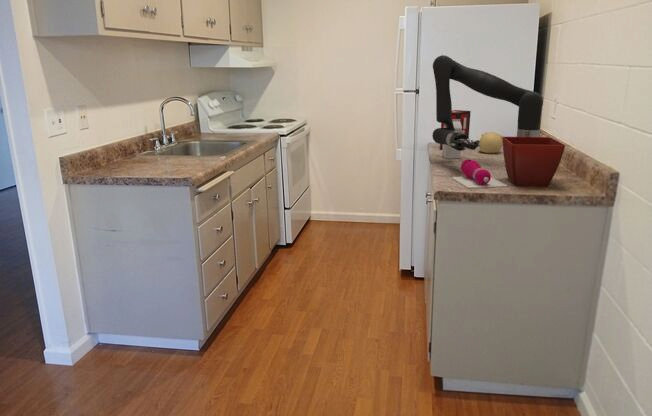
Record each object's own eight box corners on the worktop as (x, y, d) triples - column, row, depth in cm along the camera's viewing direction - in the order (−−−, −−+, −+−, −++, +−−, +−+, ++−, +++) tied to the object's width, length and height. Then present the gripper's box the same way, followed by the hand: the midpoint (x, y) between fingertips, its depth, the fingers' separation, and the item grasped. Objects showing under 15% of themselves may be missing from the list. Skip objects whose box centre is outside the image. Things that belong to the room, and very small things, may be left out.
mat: (450, 178, 209) (450, 177, 209) (487, 176, 211) (487, 175, 211) (468, 188, 192) (468, 187, 192) (507, 186, 194) (508, 185, 194)
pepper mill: (468, 178, 212) (488, 192, 193) (455, 169, 210) (474, 183, 191) (479, 164, 210) (499, 177, 191) (466, 155, 208) (485, 167, 190)
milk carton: (460, 158, 249) (462, 119, 244) (445, 158, 249) (448, 120, 243) (455, 156, 256) (458, 118, 250) (441, 156, 255) (443, 118, 250)
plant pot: (560, 189, 190) (566, 144, 185) (508, 187, 192) (512, 144, 188) (546, 177, 208) (550, 136, 203) (498, 176, 211) (501, 136, 206)
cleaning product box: (453, 145, 286) (455, 110, 280) (468, 147, 281) (470, 110, 275) (439, 149, 274) (441, 112, 268) (455, 151, 268) (457, 113, 263)
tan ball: (503, 151, 266) (505, 131, 263) (497, 155, 256) (499, 134, 253) (482, 150, 272) (483, 130, 269) (475, 153, 262) (477, 132, 259)
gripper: (443, 132, 219) (458, 138, 202) (472, 131, 220) (490, 137, 204) (442, 149, 221) (457, 156, 204) (471, 148, 223) (488, 155, 206)
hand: (473, 147), depth 204 cm, fingers closed
